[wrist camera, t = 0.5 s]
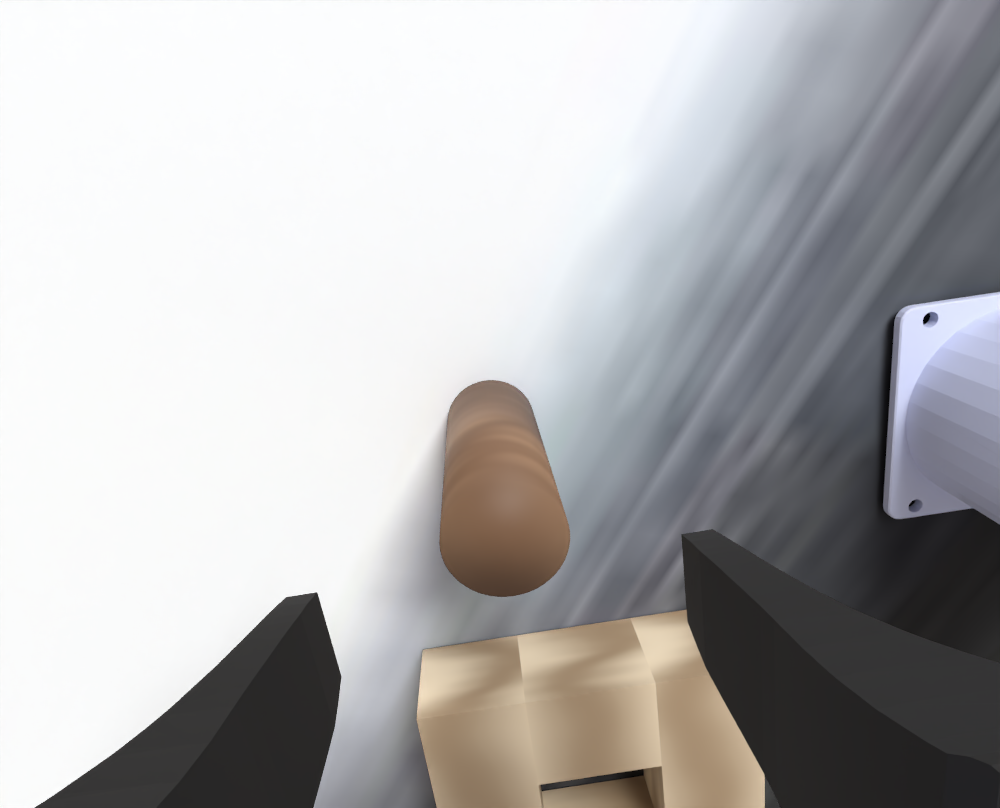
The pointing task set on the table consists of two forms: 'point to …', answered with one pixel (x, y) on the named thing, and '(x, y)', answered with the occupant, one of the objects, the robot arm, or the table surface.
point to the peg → (499, 495)
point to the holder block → (583, 721)
